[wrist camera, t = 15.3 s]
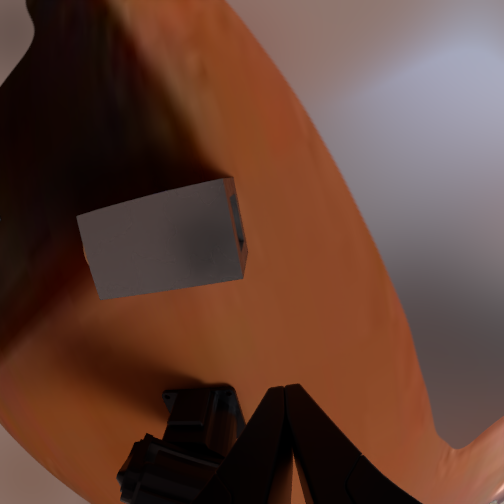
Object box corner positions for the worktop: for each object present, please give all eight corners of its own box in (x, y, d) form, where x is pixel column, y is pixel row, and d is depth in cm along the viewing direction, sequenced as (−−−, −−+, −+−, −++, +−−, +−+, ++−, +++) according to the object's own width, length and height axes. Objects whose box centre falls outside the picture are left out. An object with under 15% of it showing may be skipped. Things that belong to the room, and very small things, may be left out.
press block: (248, 252, 20) (243, 278, 15) (133, 272, 21) (100, 300, 16) (233, 177, 19) (222, 178, 14) (116, 205, 20) (76, 216, 14)
